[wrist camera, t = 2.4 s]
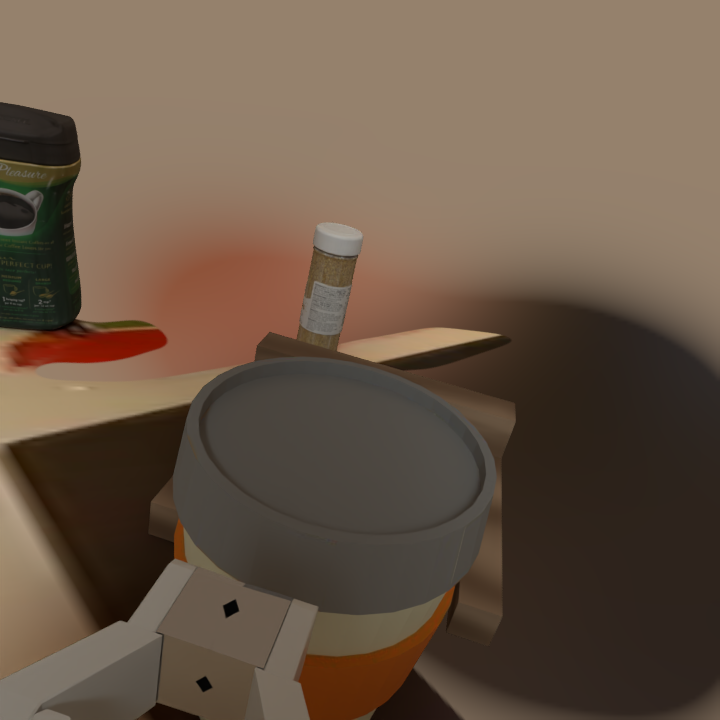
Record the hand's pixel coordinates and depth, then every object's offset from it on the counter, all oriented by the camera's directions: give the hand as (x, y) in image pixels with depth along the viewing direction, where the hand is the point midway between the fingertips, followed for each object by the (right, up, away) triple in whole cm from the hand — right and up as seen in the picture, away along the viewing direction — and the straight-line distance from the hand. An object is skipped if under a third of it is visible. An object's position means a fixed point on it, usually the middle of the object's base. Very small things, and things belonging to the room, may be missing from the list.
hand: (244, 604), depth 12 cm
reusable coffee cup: (-1, -11, +18) cm, 22 cm away
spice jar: (-2, +5, +50) cm, 51 cm away
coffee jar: (-29, +9, +45) cm, 55 cm away
